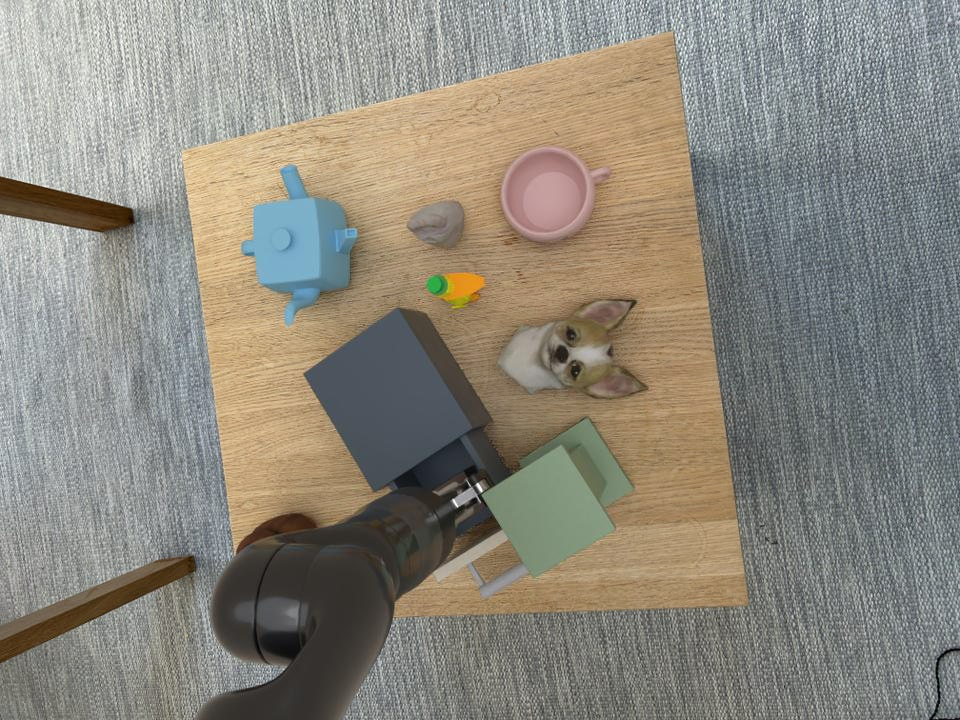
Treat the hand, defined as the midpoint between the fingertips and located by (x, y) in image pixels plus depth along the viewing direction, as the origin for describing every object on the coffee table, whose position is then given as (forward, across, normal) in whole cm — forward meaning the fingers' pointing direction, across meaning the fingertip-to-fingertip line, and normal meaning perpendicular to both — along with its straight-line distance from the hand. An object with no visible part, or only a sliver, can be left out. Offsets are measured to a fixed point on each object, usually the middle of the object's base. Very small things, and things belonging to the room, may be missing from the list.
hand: (452, 503), depth 78 cm
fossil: (+9, +14, +26) cm, 30 cm away
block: (+7, 0, 0) cm, 7 cm away
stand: (+9, +11, -4) cm, 15 cm away
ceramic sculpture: (+9, +18, +6) cm, 21 cm away
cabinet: (+9, 0, +12) cm, 15 cm away
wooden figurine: (+9, -21, +6) cm, 24 cm away
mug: (+9, +26, +22) cm, 35 cm away
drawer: (+8, 0, -1) cm, 8 cm away
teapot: (+9, 0, +32) cm, 34 cm away
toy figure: (+9, +12, +18) cm, 24 cm away
